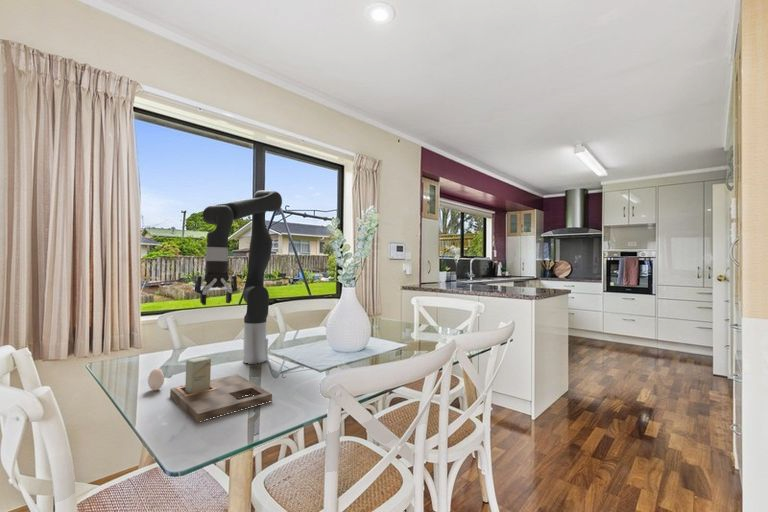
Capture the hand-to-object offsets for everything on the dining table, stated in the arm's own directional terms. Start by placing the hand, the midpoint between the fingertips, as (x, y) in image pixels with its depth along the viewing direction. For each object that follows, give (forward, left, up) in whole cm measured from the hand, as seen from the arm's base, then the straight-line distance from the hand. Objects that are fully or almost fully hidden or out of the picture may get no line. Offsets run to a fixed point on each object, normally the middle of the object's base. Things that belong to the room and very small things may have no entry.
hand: (216, 304), depth 135 cm
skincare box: (+10, +12, -28) cm, 32 cm away
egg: (+18, -3, -28) cm, 34 cm away
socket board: (+5, +19, -28) cm, 34 cm away
